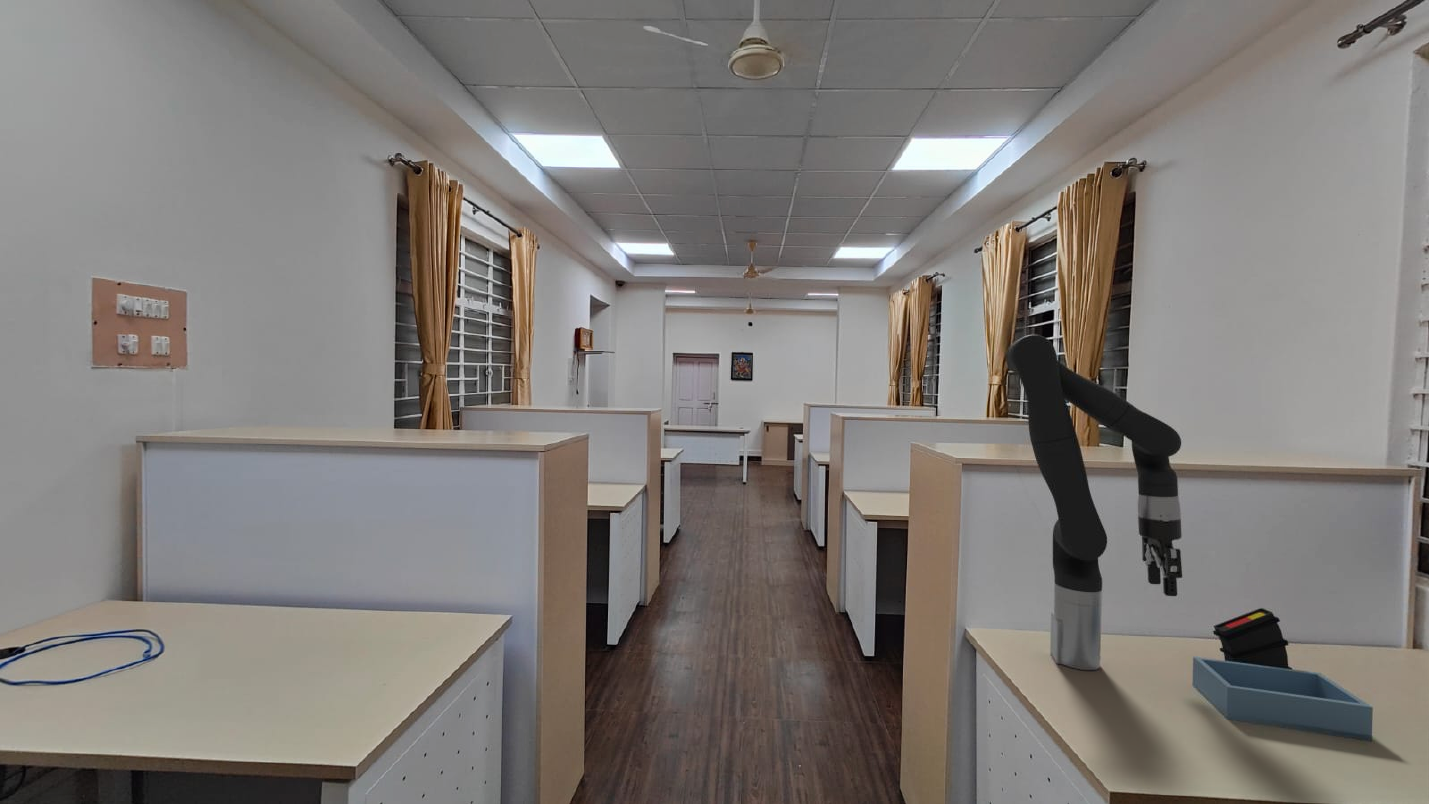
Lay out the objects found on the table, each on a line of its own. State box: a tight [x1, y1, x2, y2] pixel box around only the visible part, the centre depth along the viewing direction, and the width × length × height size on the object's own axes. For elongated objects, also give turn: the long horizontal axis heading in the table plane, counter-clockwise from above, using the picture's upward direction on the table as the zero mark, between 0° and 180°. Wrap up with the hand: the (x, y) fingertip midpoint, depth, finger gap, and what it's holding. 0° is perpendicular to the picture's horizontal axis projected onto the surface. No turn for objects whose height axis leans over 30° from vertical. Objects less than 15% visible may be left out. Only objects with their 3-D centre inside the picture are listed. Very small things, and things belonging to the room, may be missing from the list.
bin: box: [1191, 656, 1374, 742], centre depth 114 cm, size 21×14×6 cm, turn 72°
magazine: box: [1212, 607, 1293, 669], centre depth 128 cm, size 4×13×15 cm, turn 84°
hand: (1162, 589), depth 130 cm, fingers open, 8 cm apart
